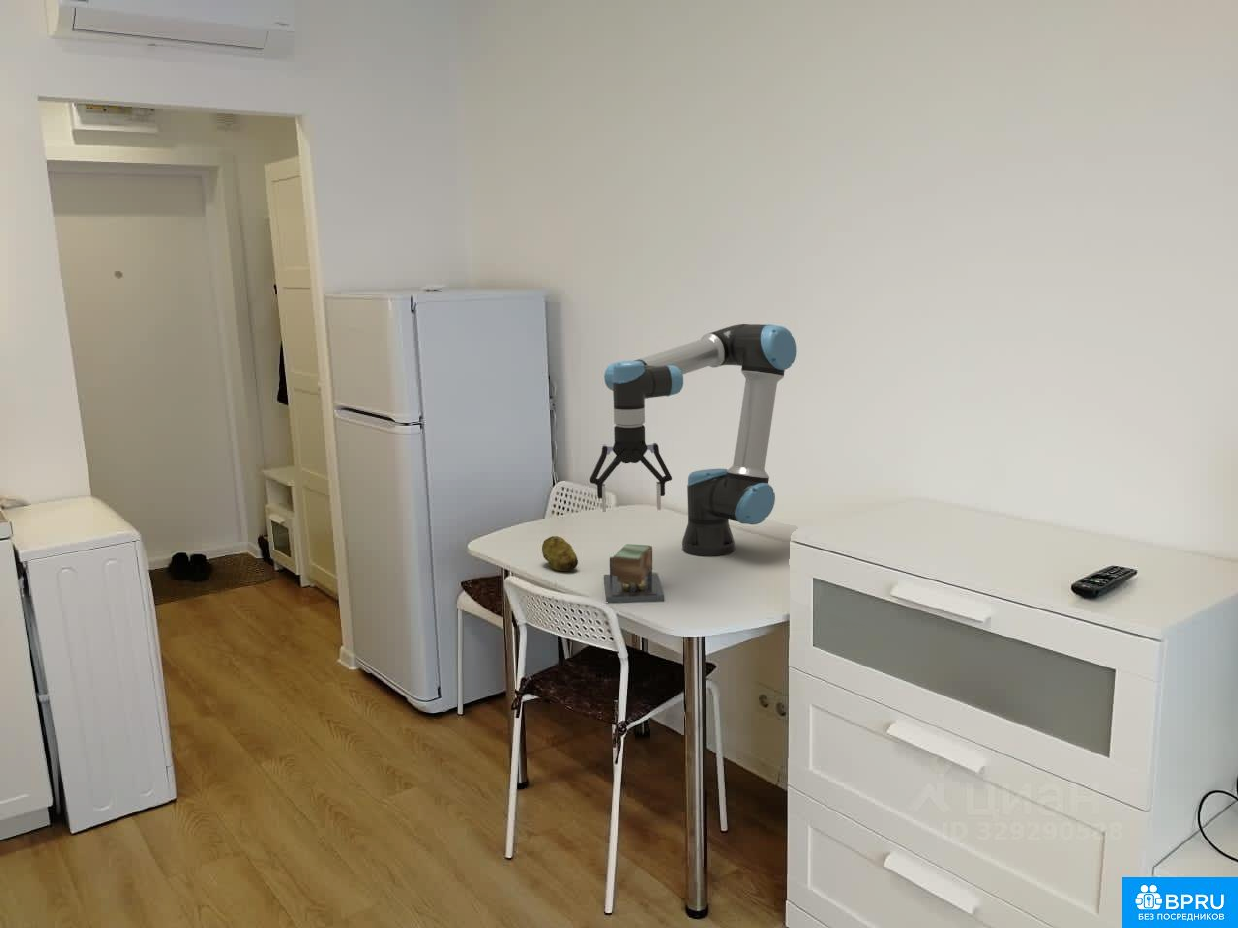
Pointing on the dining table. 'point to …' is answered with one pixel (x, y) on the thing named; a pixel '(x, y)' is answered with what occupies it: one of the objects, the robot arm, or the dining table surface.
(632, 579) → the block
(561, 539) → the potato
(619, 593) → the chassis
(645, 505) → the dining table surface
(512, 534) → the dining table surface
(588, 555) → the dining table surface
